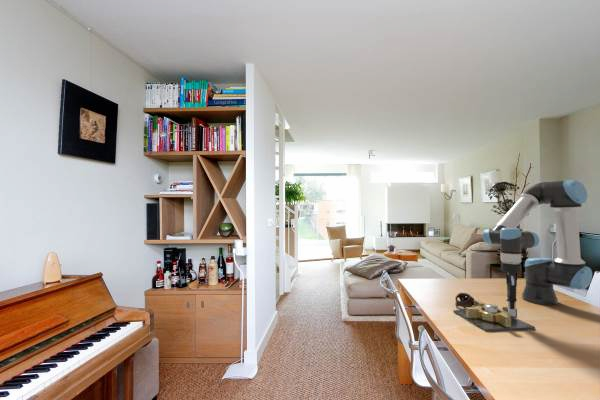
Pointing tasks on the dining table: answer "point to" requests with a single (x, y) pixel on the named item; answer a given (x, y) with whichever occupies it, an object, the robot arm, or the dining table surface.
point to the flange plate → (495, 326)
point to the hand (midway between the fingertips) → (512, 315)
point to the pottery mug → (464, 300)
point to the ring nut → (489, 314)
